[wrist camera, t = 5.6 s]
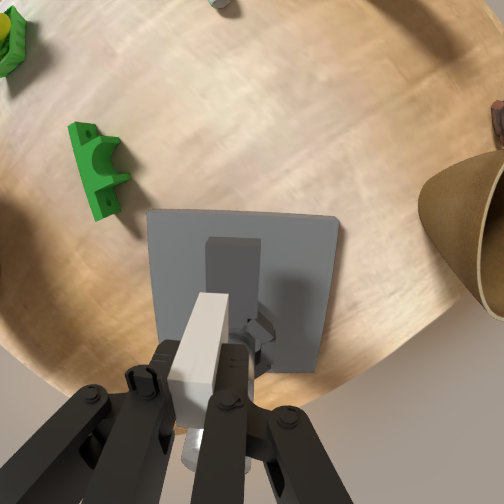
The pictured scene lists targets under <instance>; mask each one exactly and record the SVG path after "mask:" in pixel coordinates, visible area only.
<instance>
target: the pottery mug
mask: <svg viewBox="0 0 504 504" xmlns="http://www.w3.org/2000/svg"><path fill="white" fill-rule="evenodd" d="M491 109H492V119H493V124H494V128H495V132H496V135H497V136H499V137H500V142H501V143H502V144H503V146H504V101H499V100H497V101H495V102H494V103H493V104H492V106H491Z"/></svg>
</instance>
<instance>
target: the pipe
mask: <svg viewBox="0 0 504 504" xmlns="http://www.w3.org/2000/svg"><path fill="white" fill-rule="evenodd" d="M255 342H256V339H255V338H254V337H253V336H252V335H251V334H250V333H249V332H247V331H246V330H245V329H238V328H228V344H245V346H246V347H247V349H248V351H249V374H248V396H249V398H250V400H251V401H252V402H253V398H254V369H255ZM202 432H203V429H194V428H188V430H187V435H186V439H185V443H184V447H183V451H182V455H181V461H182V463H183V464H184V465H185V466H186V467H187V468H188V469H190V470H191V471H193V472H195V473H196V467H197V461H198V455H199V450H200V444H201V438H202ZM250 469H251V458H250V457H247V456H245V474H247V473H248V472H249V471H250Z"/></svg>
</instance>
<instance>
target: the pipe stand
mask: <svg viewBox="0 0 504 504" xmlns="http://www.w3.org/2000/svg"><path fill="white" fill-rule="evenodd" d="M146 216H147V236H148V251H149V264H150V275H151V285H152V294H153V303H154V311H155V319H156V326H157V333H158V340H159V344H160V343H161V342H163V341H164V340H165V339H169V340H179V341H181V340H182V337H183V335H184V332H185V329H186V327H187V324H188V321H189V319H190V316H191V314H192V311H193V308H194V306H195V303H196V301H197V298H198V296H199V293H200V292H202V293H206V271H205V243H206V241H207V240H208V238H209V237H210V236H213V237H237V238H259V239H261V255H260V274H259V293H258V311H259V312H260V313H261V314H262V315H263V316H264V317H266V318H267V319H268V320H269V321H270V322H271V323H272V324H273V326H274V329H275V333H276V349H275V359H274V365H271V369H270V370H269V371H267V373H314V371H315V367H316V362H317V357H318V353H319V348H320V343H321V338H322V333H323V327H324V322H325V316H326V311H327V305H328V299H329V293H330V287H331V280H332V274H333V267H334V259H335V252H336V244H337V236H338V227H339V220H338V219H337V218H336V217H335V216H322V215H307V214H290V213H272V212H251V211H225V210H190V209H152V210H150V211H148V212H146ZM260 347H261V343H260V342H259V341H258V340H256V342H255V352H257V351H258V350H260Z"/></svg>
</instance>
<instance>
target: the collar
mask: <svg viewBox="0 0 504 504" xmlns="http://www.w3.org/2000/svg"><path fill="white" fill-rule="evenodd" d="M260 255H261V239H259V238H237V237H213V236H210V237H209V238H208V240H207V241H206V243H205V271H206V293H220V294H229V298H228V328H238V329H245V330H246V331H247V332H249V333H250V334H251V335H252V336H253V337H254V338H255V339H256V340H258V341H259V342H260V343H261V347H260V350H258V351H257V352H255V369H254V379H256V378H257V377H259V376H261V375H262V374H264V373H265V372H267V371H269V370H270V369H271V365H274V359H275V349H276V333H275V329H274V326H273V324H272V323H271V322H270V321H269V320H268V319H267V318H266V317H264V316H263V315H262V314H261V313H260V312H259V311H258V293H259V274H260Z"/></svg>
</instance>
